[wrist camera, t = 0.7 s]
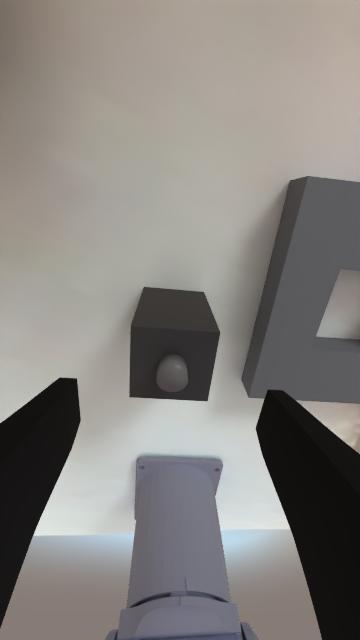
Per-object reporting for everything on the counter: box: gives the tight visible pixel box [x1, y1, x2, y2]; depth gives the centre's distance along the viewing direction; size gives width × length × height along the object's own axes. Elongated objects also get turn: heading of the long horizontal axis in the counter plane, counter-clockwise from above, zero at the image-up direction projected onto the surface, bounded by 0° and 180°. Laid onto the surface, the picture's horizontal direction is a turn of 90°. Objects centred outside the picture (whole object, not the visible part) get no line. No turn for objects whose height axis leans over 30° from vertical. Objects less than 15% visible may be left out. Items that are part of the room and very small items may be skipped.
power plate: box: [242, 176, 360, 404], centre depth 16 cm, size 14×12×2 cm
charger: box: [130, 287, 220, 401], centre depth 14 cm, size 4×4×7 cm
